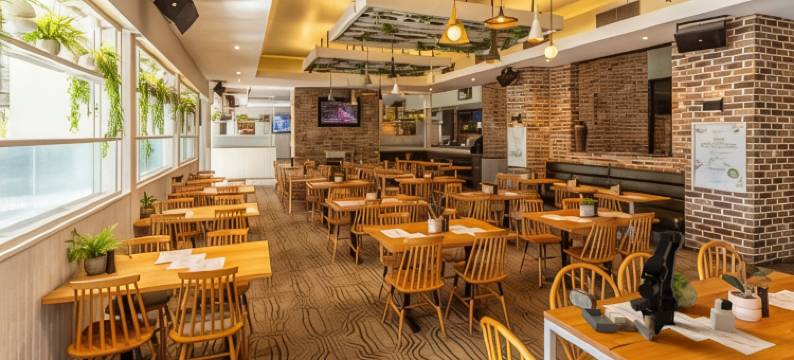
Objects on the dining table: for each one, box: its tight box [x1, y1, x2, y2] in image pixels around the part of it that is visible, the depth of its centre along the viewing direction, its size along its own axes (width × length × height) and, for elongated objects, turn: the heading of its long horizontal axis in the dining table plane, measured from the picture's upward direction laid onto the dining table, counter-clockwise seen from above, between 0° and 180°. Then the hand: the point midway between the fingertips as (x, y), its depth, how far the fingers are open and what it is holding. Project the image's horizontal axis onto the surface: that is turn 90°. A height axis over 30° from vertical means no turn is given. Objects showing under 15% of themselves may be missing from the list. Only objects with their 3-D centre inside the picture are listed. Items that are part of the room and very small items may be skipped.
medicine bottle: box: [709, 298, 737, 333], centre depth 202 cm, size 7×7×12 cm
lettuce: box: [641, 270, 698, 309], centre depth 228 cm, size 19×23×18 cm
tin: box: [568, 287, 598, 310], centre depth 225 cm, size 15×3×8 cm, turn 23°
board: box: [602, 312, 636, 332], centre depth 206 cm, size 8×14×2 cm, turn 177°
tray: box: [581, 307, 617, 333], centre depth 206 cm, size 8×18×4 cm, turn 177°
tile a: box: [604, 308, 621, 318], centre depth 208 cm, size 4×4×2 cm
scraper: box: [633, 316, 660, 342], centre depth 195 cm, size 6×13×7 cm, turn 177°
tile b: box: [610, 312, 626, 323], centre depth 203 cm, size 4×4×2 cm
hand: (651, 330), depth 195 cm, fingers open, 8 cm apart
